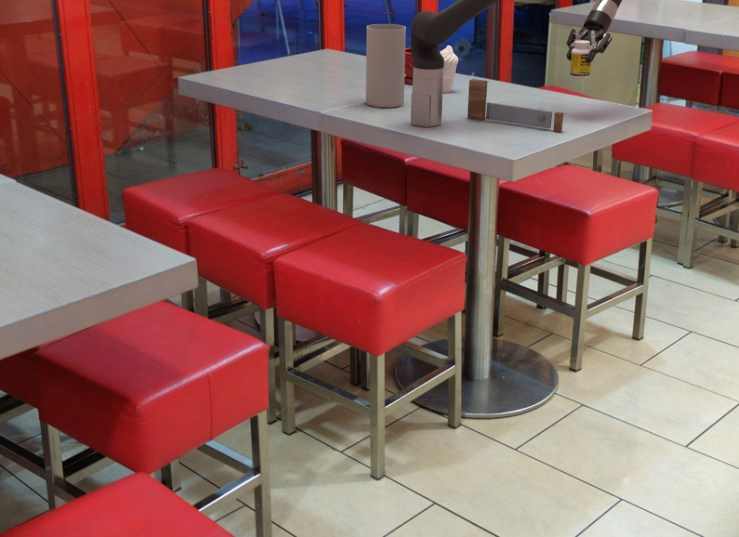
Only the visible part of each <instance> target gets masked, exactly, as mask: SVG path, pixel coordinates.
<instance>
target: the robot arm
mask: <svg viewBox="0 0 739 537" xmlns="http://www.w3.org/2000/svg"><path fill="white" fill-rule="evenodd" d="M498 1H499V0H455V1H454V2H453V3H452V4H451V5H449V6H447V7H446V8H444V9H442V10H440V11H439V12H433V11H430V10H423V11H420V12H419V11H418V13H416V15H415V16H414V17H413V19H412V21H411V26H410V48H411V56H412V59H413V84H412V92H411V96H410V98H411V102H410V125H413V126H419V127H425V128H429V127H436V126H440V125H441V124H442V120H443V119H442V118H443V100H444V99H443V98H444V96H443V95H444V93H443V77H444V58H443V56H442V55H441V53H440V51H441V50H440V49H439V45H443V44H444V43H445V42H446V41H448V40H449V39H450V37H452V36H453V35H454V34H455V33H456V32H458V30H460V29H461V28H462V27H463V26H464V25H466V23H468V22H469V21H471V20H473V19H475V17H477V16H478V15H480V14H481V13H482V12H484V11H485V10H487V9H488V8H490V7H492V5H494V4H496V3H497V2H498ZM622 2H623V0H596V1H595V2H594V4H593V6H592V7H591V9H590V11H589V13H588V15H587V16H586V19H585V21H584V23H583V26H582V28H581V29H580V30H576V29H575V28H572V29H571V30H570V33H569V35H568V38H567V41H566V47H568V51H567V53H566V55H565V56H566V58H567V61H570V62H571V52H572V49H574V48H575V46H574V42H575V41H579V40H585V41H590V46H591V50H590V52H589V53H588V55H587V57H586V62H587V63H589V64H590V63H591V64H592V62H593V61H594V60H595V59H594V58H595V57H596V55H597V54H599V53H600V54H604V52H605V51H606V49H607V48H608V47H609V45H610V44H611V42H612V41H613V37H612V35H611V33H610V32H608V31H609V29H610V26H611V24H612V22H613V21H614V20H615V19H614V18H616V17H615V16H616V14H617V12H618V9H619V7H620V5H621V4H622ZM599 42H600V43H599Z"/></svg>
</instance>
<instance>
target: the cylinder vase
mask: <svg viewBox="0 0 739 537" xmlns="http://www.w3.org/2000/svg"><path fill="white" fill-rule="evenodd" d="M406 29H407V27H406V26H404V25H401V24H393V23H377V24H369V25H366V56H365V57H366V58H365V59H366V62H365V63H366V65H365V69H366V70H365V72H366V73H365V74H366V75H365V103H366V104H367V105H368V106H369V107H373V108H381V109H393V108H399V107H401V106H403V105H404V103H405V80H404V77H405V76H406V75H405V49H406V36H407V35H406V34H407V32H406Z"/></svg>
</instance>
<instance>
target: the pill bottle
mask: <svg viewBox="0 0 739 537" xmlns="http://www.w3.org/2000/svg"><path fill="white" fill-rule="evenodd" d="M574 46H575V48H574V49H572V52H571V61H570V67H569V70H570V71H569V77H570V78H572V79H576V80H586V79H589V78H590V77H591V70H592V69H591V66H592V62H591V63H590V64H589V63H587V62H586V57H587V55H588V53H589V52H590V50H592V48H590V46H591V45H590V41H585V40H579V41H575V42H574Z"/></svg>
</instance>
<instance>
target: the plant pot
mask: <svg viewBox="0 0 739 537" xmlns="http://www.w3.org/2000/svg"><path fill="white" fill-rule="evenodd" d="M404 82H406V83H407V84H410V85H413V59H412V56H411V47H408V48H407V47H405V77H404Z"/></svg>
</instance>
